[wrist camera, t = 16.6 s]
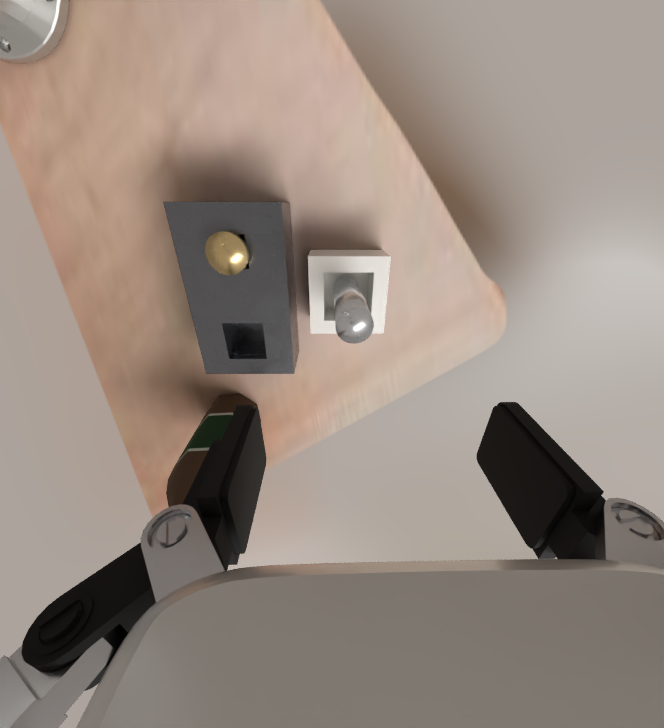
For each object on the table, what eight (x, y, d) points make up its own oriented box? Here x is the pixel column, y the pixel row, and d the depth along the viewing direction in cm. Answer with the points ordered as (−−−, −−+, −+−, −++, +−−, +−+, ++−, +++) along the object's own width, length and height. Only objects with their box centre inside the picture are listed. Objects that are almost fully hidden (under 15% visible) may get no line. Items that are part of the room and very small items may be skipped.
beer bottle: (243, 383, 40) (148, 579, 19) (272, 421, 43) (219, 623, 22) (199, 403, 41) (66, 603, 20) (230, 438, 45) (144, 641, 24)
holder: (310, 249, 31) (307, 256, 27) (382, 249, 31) (390, 256, 27) (313, 318, 35) (310, 333, 31) (376, 317, 35) (383, 333, 31)
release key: (225, 227, 29) (201, 231, 24) (259, 227, 29) (243, 231, 24) (231, 263, 31) (209, 275, 25) (263, 263, 31) (249, 275, 26)
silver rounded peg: (333, 274, 32) (335, 307, 21) (359, 274, 32) (375, 307, 21) (333, 300, 33) (335, 343, 23) (358, 300, 33) (372, 343, 23)
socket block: (193, 203, 29) (163, 201, 24) (290, 203, 29) (281, 202, 24) (223, 350, 37) (206, 373, 32) (299, 350, 37) (294, 373, 32)
